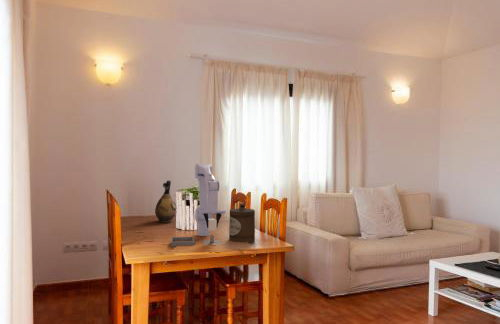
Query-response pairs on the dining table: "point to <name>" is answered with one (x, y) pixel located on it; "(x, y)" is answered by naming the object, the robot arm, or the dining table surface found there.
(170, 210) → the ceramic jug
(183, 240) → the bin
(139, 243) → the dining table surface
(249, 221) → the wooden container
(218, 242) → the stud block
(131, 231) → the dining table surface
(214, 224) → the block
